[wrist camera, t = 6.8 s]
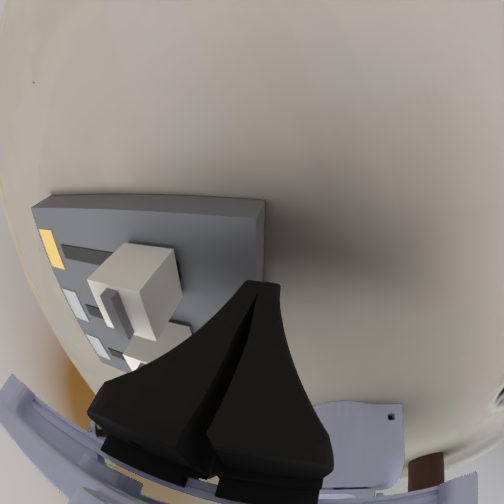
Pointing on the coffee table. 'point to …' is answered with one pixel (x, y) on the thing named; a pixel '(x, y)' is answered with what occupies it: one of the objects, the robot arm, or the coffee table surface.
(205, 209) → the switch unit
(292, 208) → the coffee table surface
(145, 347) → the switch
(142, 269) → the switch
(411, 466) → the lamp
